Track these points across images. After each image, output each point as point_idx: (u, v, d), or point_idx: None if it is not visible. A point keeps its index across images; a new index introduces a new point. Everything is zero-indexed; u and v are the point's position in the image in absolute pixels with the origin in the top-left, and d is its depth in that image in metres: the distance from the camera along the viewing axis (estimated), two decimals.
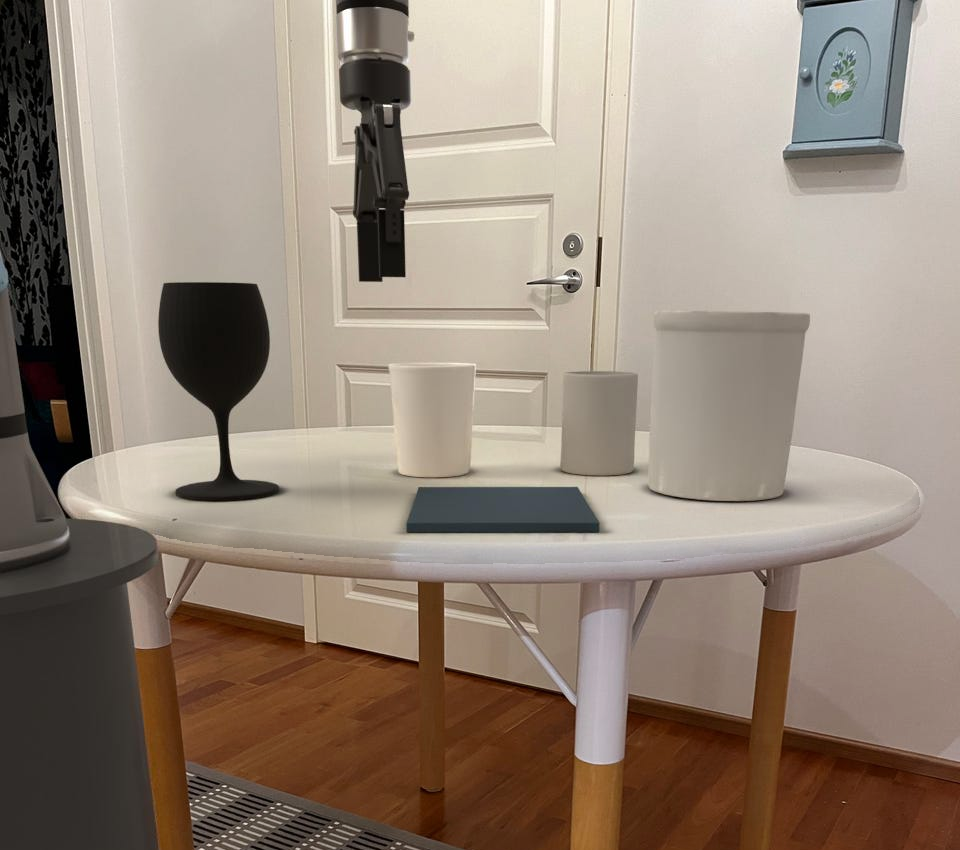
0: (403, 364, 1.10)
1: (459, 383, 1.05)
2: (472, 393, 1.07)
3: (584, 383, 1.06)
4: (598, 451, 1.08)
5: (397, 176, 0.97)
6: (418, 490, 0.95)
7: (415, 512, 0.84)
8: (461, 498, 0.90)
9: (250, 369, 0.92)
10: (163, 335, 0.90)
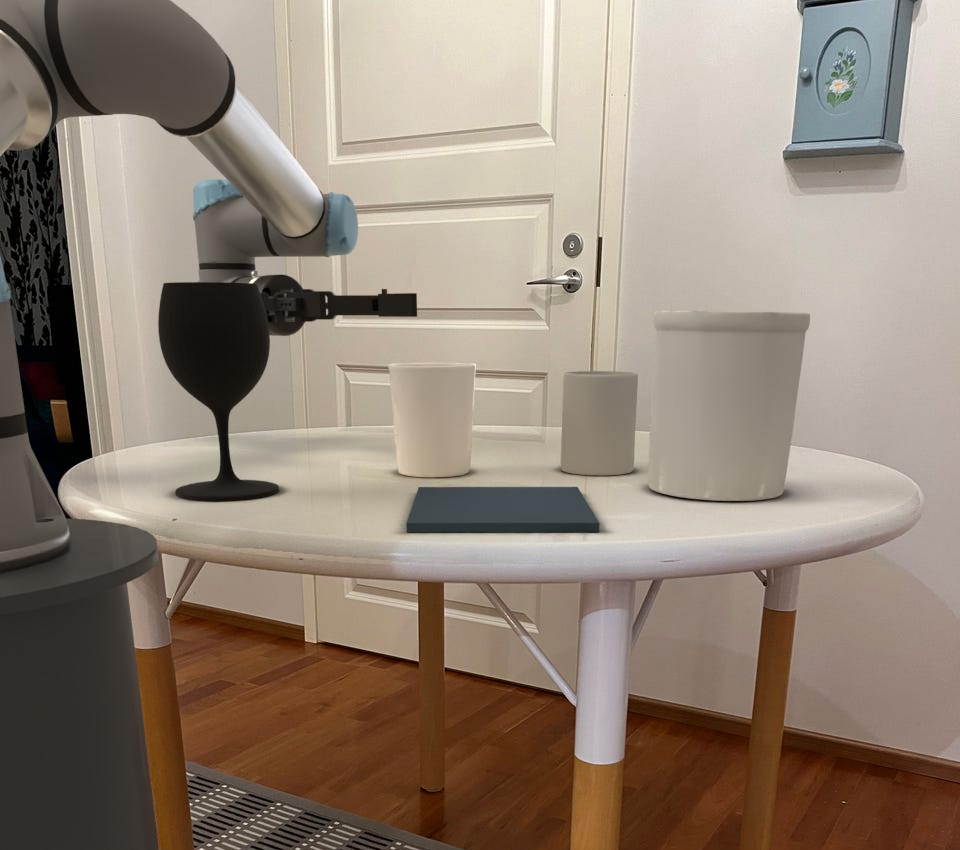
0: (403, 364, 1.10)
1: (459, 383, 1.05)
2: (472, 393, 1.07)
3: (584, 383, 1.06)
4: (598, 451, 1.08)
5: None
6: (418, 490, 0.95)
7: (415, 512, 0.84)
8: (461, 498, 0.90)
9: (250, 369, 0.92)
10: (163, 335, 0.90)
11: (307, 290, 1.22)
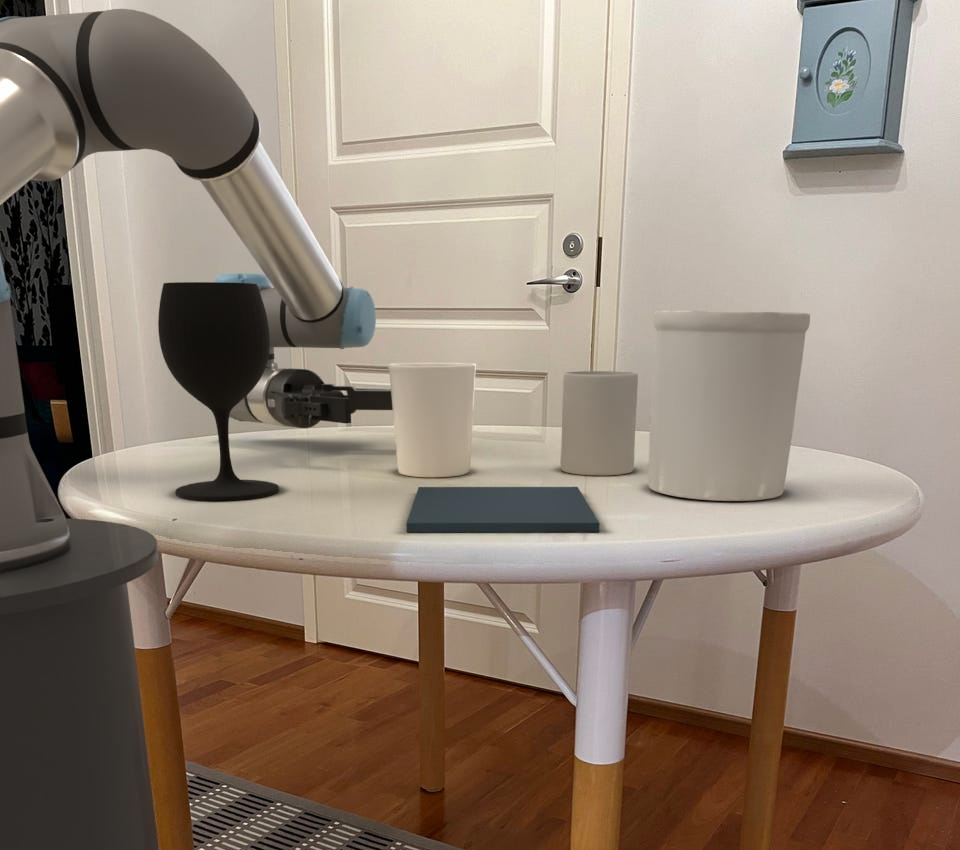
0: (403, 364, 1.10)
1: (459, 383, 1.05)
2: (472, 393, 1.07)
3: (584, 383, 1.06)
4: (598, 451, 1.08)
5: (280, 405, 1.13)
6: (418, 490, 0.95)
7: (415, 512, 0.84)
8: (461, 498, 0.90)
9: (250, 369, 0.92)
10: (163, 335, 0.90)
11: (328, 385, 1.23)
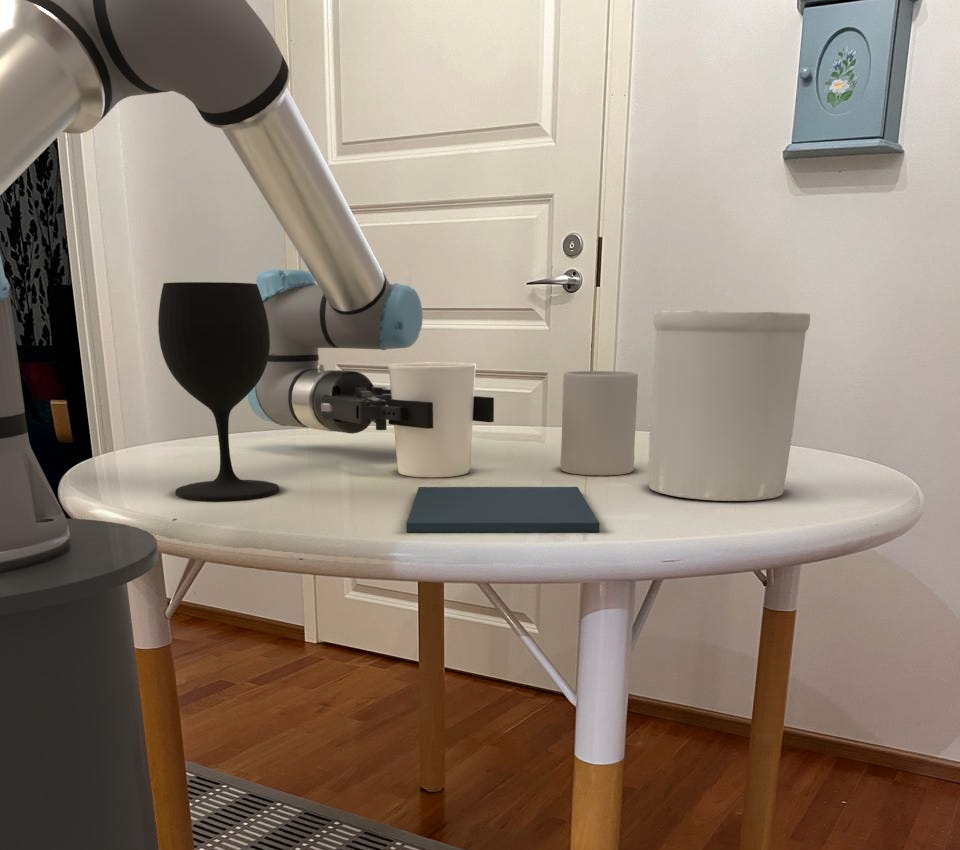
0: (403, 364, 1.10)
1: (459, 383, 1.05)
2: (472, 393, 1.07)
3: (584, 383, 1.06)
4: (598, 451, 1.08)
5: (353, 409, 1.07)
6: (418, 490, 0.95)
7: (415, 512, 0.84)
8: (461, 498, 0.90)
9: (250, 369, 0.92)
10: (163, 335, 0.90)
11: (377, 388, 1.16)
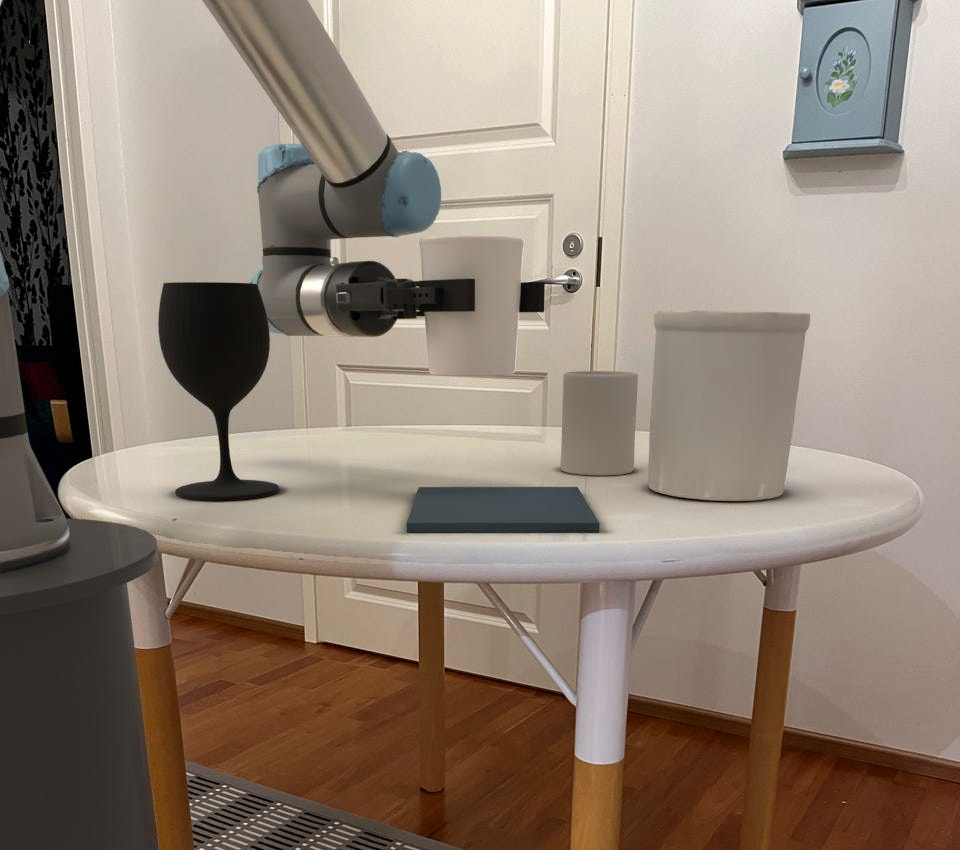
0: None
1: (505, 258, 0.86)
2: (520, 274, 0.89)
3: (584, 383, 1.06)
4: (598, 451, 1.08)
5: (376, 293, 0.89)
6: (418, 490, 0.95)
7: (415, 512, 0.84)
8: (461, 498, 0.90)
9: (250, 369, 0.92)
10: (163, 335, 0.90)
11: (403, 280, 0.98)
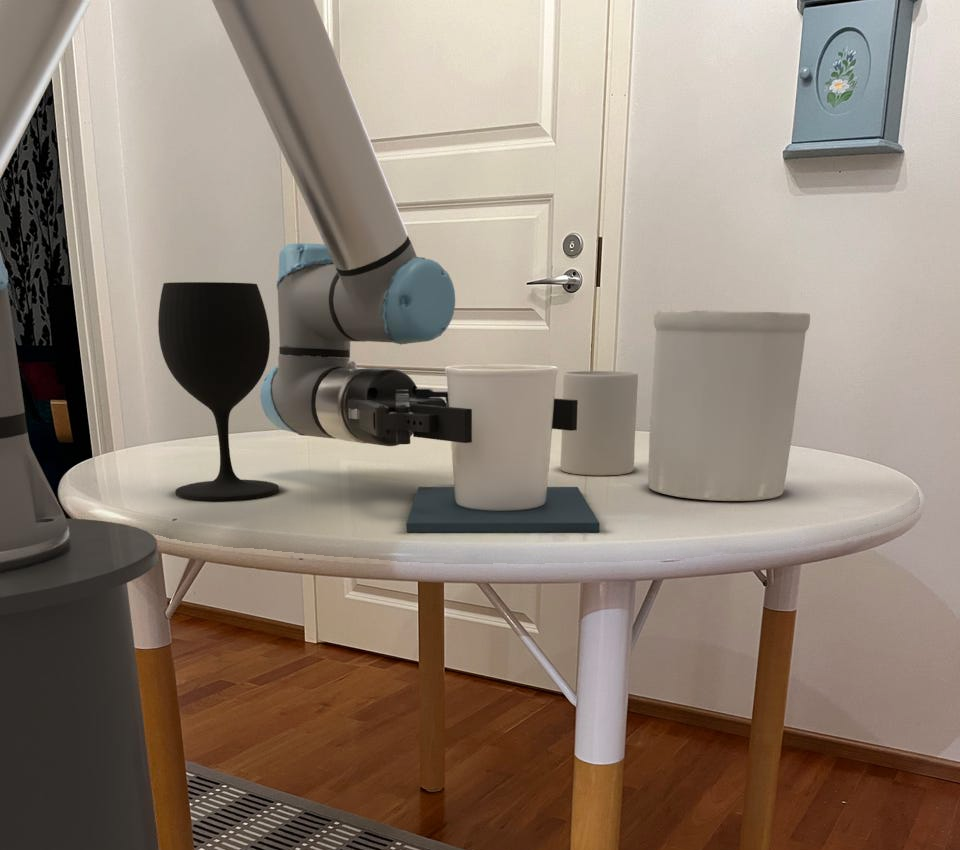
0: (462, 367, 0.87)
1: (538, 391, 0.82)
2: (552, 404, 0.84)
3: (584, 383, 1.06)
4: (598, 451, 1.08)
5: (371, 417, 0.84)
6: (418, 490, 0.95)
7: (415, 512, 0.84)
8: None
9: (250, 369, 0.92)
10: (163, 335, 0.90)
11: (425, 390, 0.93)
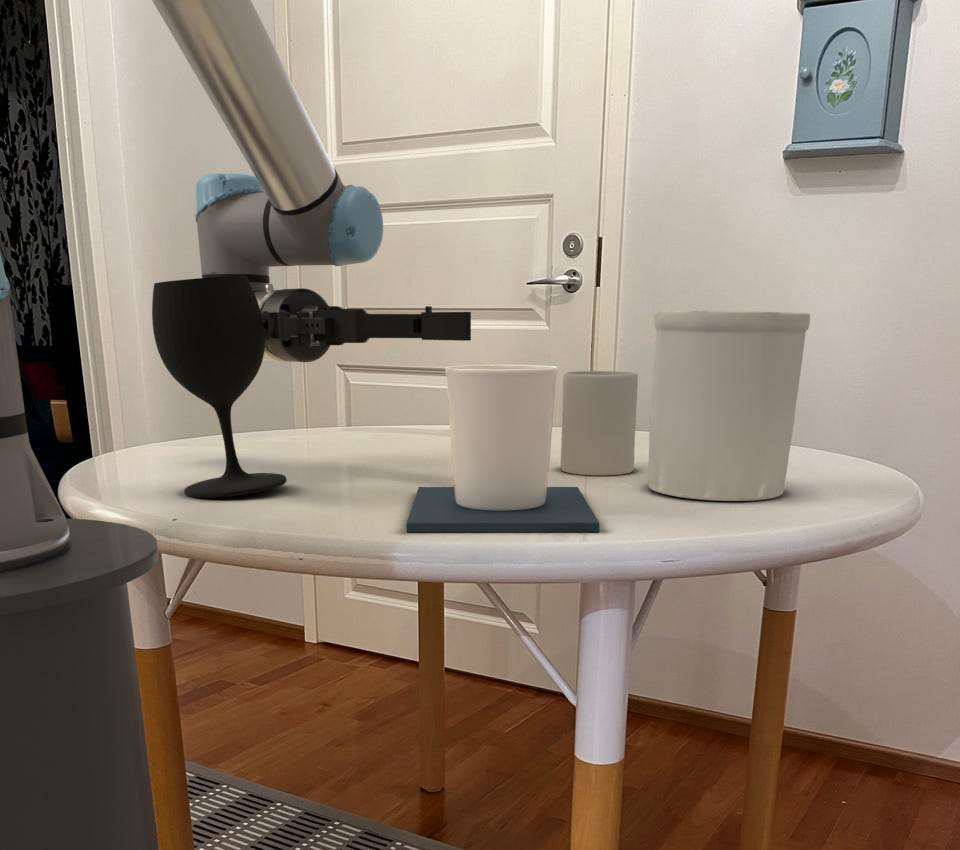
0: (462, 367, 0.87)
1: (538, 391, 0.82)
2: (552, 404, 0.84)
3: (584, 383, 1.06)
4: (598, 451, 1.08)
5: (275, 322, 0.90)
6: (418, 490, 0.95)
7: (415, 512, 0.84)
8: None
9: (247, 362, 0.92)
10: (158, 335, 0.91)
11: (334, 307, 1.00)
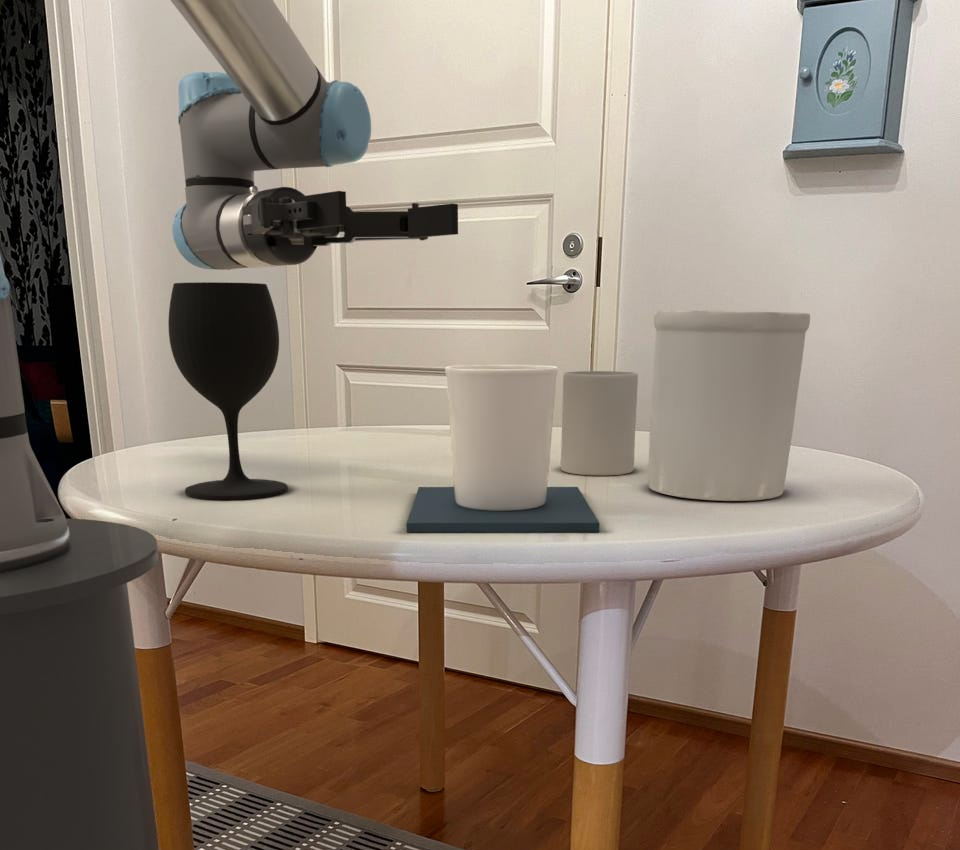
0: (462, 367, 0.87)
1: (538, 391, 0.82)
2: (552, 404, 0.84)
3: (584, 383, 1.06)
4: (598, 451, 1.08)
5: (257, 210, 0.89)
6: (418, 490, 0.95)
7: (415, 512, 0.84)
8: None
9: (260, 369, 0.93)
10: (173, 335, 0.91)
11: None
